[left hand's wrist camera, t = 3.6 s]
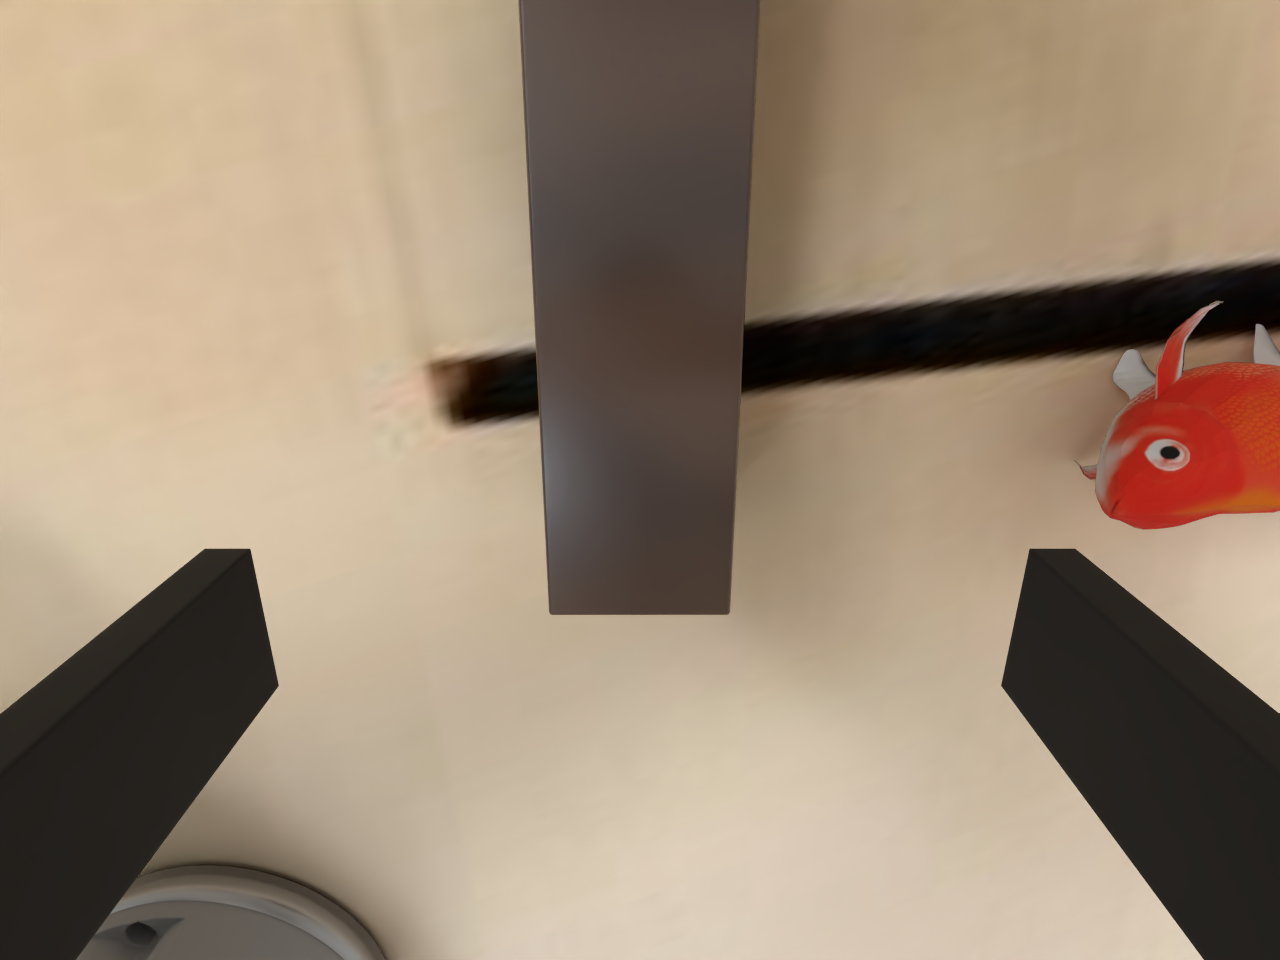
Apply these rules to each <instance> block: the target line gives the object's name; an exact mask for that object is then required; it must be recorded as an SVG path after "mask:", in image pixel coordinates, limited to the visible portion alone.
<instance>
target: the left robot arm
mask: <svg viewBox="0 0 1280 960" xmlns="http://www.w3.org/2000/svg"><path fill="white" fill-rule="evenodd" d="M278 686H279V685H278V680H277V675H276V670H275V666H274V661H273V656H272V651H271V646H270V641H269V637H268V632H267V627H266V622H265V617H264V613H263V608H262V603H261V598H260V593H259V588H258V584H257V579H256V574H255V569H254V564H253V559H252V555H251V550H250V549H204V550H203V551H202V552H200V553H199V554H198V555H197V556H195V557H194V558H193V559H192V560H190V561H189V562H188V563H187V564H185V565H184V566H183V567H182V568H181V569H179V570H178V571H177V572H176V573H174V574H173V575H172V576H171V577H169V578H168V579H167V580H166V581H164V582H163V583H162V584H161V585H160V586H158V587H157V588H156V589H155V590H153V591H152V592H151V593H150V594H148V595H147V596H146V597H145V598H143V599H142V600H141V601H140V602H138V603H137V604H136V605H135V606H134V607H132V608H131V609H130V610H129V611H127V612H126V613H125V614H124V615H122V616H121V617H120V618H119V619H117V620H116V621H115V622H114V623H112V624H111V625H110V626H109V627H108V628H106V629H105V630H104V631H103V632H101V633H100V634H99V635H98V636H96V637H95V638H94V639H93V640H91V641H90V642H89V643H88V644H86V645H85V646H84V647H83V648H82V649H80V650H79V651H78V652H77V653H75V654H74V655H73V656H72V657H70V658H69V659H68V660H67V661H65V662H64V663H63V664H62V665H61V666H59V667H58V668H57V669H56V670H54V671H53V672H52V673H51V674H49V675H48V676H47V677H46V678H44V679H43V680H42V681H41V682H39V683H38V684H37V685H36V686H35V687H33V688H32V689H31V690H30V691H28V692H27V693H26V694H25V695H23V696H22V697H21V698H20V699H18V700H17V701H16V702H15V703H13V704H12V705H11V706H10V707H9V708H7V709H6V710H5V711H4V712H2V713H1V714H0V960H385V958H384V956H383V954H382V952H381V950H380V949H379V947H378V946H377V944H376V942H375V941H374V940H373V939H372V937H371V936H370V935H369V933H368V932H367V931H366V930H365V929H364V928H363V927H362V926H361V925H360V924H359V923H358V922H357V921H356V920H355V919H354V918H353V917H352V916H350V915H349V914H348V913H347V912H346V911H344V910H343V909H342V908H340V907H339V906H337V905H336V904H335V903H333V902H332V901H330V900H328V899H327V898H325V897H323V896H322V895H320V894H318V893H316V892H314V891H312V890H310V889H308V888H306V887H304V886H302V885H299V884H297V883H295V882H292V881H289V880H287V879H284V878H281V877H278V876H275V875H271V874H267V873H264V872H260V871H255V870H250V869H245V868H238V867H230V866H216V865H195V866H183V867H176V868H170V869H164V870H160V871H156V872H152V873H149V874H146V875H143V876H141V877H138V875H139V874H140V873H141V871H142V870H143V868H144V867H145V866H146V864H147V863H148V862H149V860H150V859H151V858H152V856H153V855H154V854H155V852H156V851H157V850H158V848H159V847H160V845H161V844H162V843H163V841H164V840H165V839H166V837H167V836H168V835H169V833H170V832H171V831H172V829H173V828H174V827H175V825H176V824H177V823H178V821H179V820H180V818H181V817H182V816H183V814H184V813H185V812H186V810H187V809H188V808H189V806H190V805H191V804H192V802H193V801H194V800H195V798H196V797H197V795H198V794H199V793H200V791H201V790H202V789H203V787H204V786H205V785H206V783H207V782H208V781H209V779H210V778H211V777H212V775H213V774H214V772H215V771H216V770H217V768H218V767H219V766H220V764H221V763H222V762H223V760H224V759H225V758H226V756H227V755H228V754H229V752H230V751H231V749H232V748H233V747H234V745H235V744H236V743H237V741H238V740H239V739H240V737H241V736H242V735H243V733H244V732H245V731H246V729H247V728H248V727H249V725H250V724H251V722H252V721H253V720H254V718H255V717H256V716H257V714H258V713H259V712H260V710H261V709H262V708H263V706H264V705H265V704H266V702H267V701H268V699H269V698H270V697H271V695H272V694H273V693H274V691H275V690H276V689H277V687H278ZM1001 686H1002V687H1003V689H1004V690H1005V691H1006V693H1007V694H1008V695H1009V697H1010V698H1011V699H1012V701H1013V702H1014V704H1015V705H1016V706H1017V708H1018V709H1019V710H1020V712H1021V713H1022V714H1023V716H1024V717H1025V718H1026V720H1027V721H1028V722H1029V724H1030V725H1031V727H1032V728H1033V729H1034V731H1035V732H1036V733H1037V735H1038V736H1039V737H1040V739H1041V740H1042V741H1043V743H1044V744H1045V745H1046V747H1047V748H1048V749H1049V751H1050V752H1051V754H1052V755H1053V756H1054V758H1055V759H1056V760H1057V762H1058V763H1059V764H1060V766H1061V767H1062V768H1063V770H1064V771H1065V772H1066V774H1067V775H1068V777H1069V778H1070V779H1071V781H1072V782H1073V783H1074V785H1075V786H1076V787H1077V789H1078V790H1079V791H1080V793H1081V794H1082V795H1083V797H1084V798H1085V800H1086V801H1087V802H1088V804H1089V805H1090V806H1091V808H1092V809H1093V810H1094V812H1095V813H1096V814H1097V816H1098V817H1099V818H1100V820H1101V821H1102V823H1103V824H1104V825H1105V827H1106V828H1107V829H1108V831H1109V832H1110V833H1111V835H1112V836H1113V837H1114V839H1115V840H1116V841H1117V843H1118V844H1119V845H1120V847H1121V848H1122V850H1123V851H1124V852H1125V854H1126V855H1127V856H1128V858H1129V859H1130V860H1131V862H1132V863H1133V864H1134V866H1135V867H1136V868H1137V870H1138V871H1139V873H1140V874H1141V875H1142V877H1143V878H1144V879H1145V881H1146V882H1147V883H1148V885H1149V886H1150V887H1151V889H1152V890H1153V891H1154V893H1155V894H1156V896H1157V897H1158V898H1159V900H1160V901H1161V902H1162V904H1163V905H1164V906H1165V908H1166V909H1167V910H1168V912H1169V913H1170V914H1171V916H1172V917H1173V918H1174V920H1175V921H1176V923H1177V924H1178V925H1179V927H1180V928H1181V929H1182V931H1183V932H1184V933H1185V935H1186V936H1187V937H1188V939H1189V940H1190V941H1191V943H1192V944H1193V946H1194V947H1195V948H1196V950H1197V951H1198V952H1199V954H1200V955H1201V956H1202V958H1203V959H1204V960H1280V713H1278V712H1276V711H1275V710H1274V709H1273V708H1271V707H1270V706H1269V705H1268V704H1267V703H1265V702H1264V701H1263V700H1262V699H1260V698H1259V697H1258V696H1257V695H1255V694H1254V693H1253V692H1252V691H1250V690H1249V689H1248V688H1247V687H1245V686H1244V685H1243V684H1242V683H1241V682H1239V681H1238V680H1237V679H1236V678H1234V677H1233V676H1232V675H1231V674H1229V673H1228V672H1227V671H1226V670H1224V669H1223V668H1222V667H1221V666H1219V665H1218V664H1217V663H1216V662H1215V661H1213V660H1212V659H1211V658H1210V657H1208V656H1207V655H1206V654H1205V653H1203V652H1202V651H1201V650H1200V649H1198V648H1197V647H1196V646H1195V645H1194V644H1192V643H1191V642H1190V641H1189V640H1187V639H1186V638H1185V637H1184V636H1182V635H1181V634H1180V633H1179V632H1177V631H1176V630H1175V629H1174V628H1172V627H1171V626H1170V625H1169V624H1168V623H1166V622H1165V621H1164V620H1163V619H1161V618H1160V617H1159V616H1158V615H1156V614H1155V613H1154V612H1153V611H1151V610H1150V609H1149V608H1148V607H1146V606H1145V605H1144V604H1143V603H1142V602H1140V601H1139V600H1138V599H1137V598H1135V597H1134V596H1133V595H1132V594H1130V593H1129V592H1128V591H1127V590H1125V589H1124V588H1123V587H1122V586H1120V585H1119V584H1118V583H1117V582H1116V581H1114V580H1113V579H1112V578H1111V577H1109V576H1108V575H1107V574H1106V573H1104V572H1103V571H1102V570H1101V569H1099V568H1098V567H1097V566H1096V565H1095V564H1093V563H1092V562H1091V561H1090V560H1088V559H1087V558H1086V557H1085V556H1083V555H1082V554H1081V553H1080V552H1078V551H1077V550H1076V549H1030V550H1029V555H1028V559H1027V564H1026V569H1025V574H1024V579H1023V584H1022V588H1021V593H1020V598H1019V603H1018V608H1017V613H1016V617H1015V622H1014V627H1013V632H1012V637H1011V641H1010V646H1009V651H1008V656H1007V661H1006V666H1005V670H1004V675H1003V680H1002V685H1001ZM137 877H138V878H137Z"/></svg>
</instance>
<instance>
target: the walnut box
mask: <svg viewBox="0 0 1280 960" xmlns="http://www.w3.org/2000/svg"><path fill="white" fill-rule="evenodd" d="M759 15H760V0H519V19H520V39H521V59H522V79H523V99H524V119H525V139H526V159H527V179H528V199H529V219H530V239H531V259H532V279H533V299H534V319H535V339H536V359H537V379H538V399H539V419H540V439H541V459H542V479H543V499H544V519H545V539H546V559H547V579H548V599H549V612H550V614H552V615H727V614H729V612H730V601H731V580H732V560H733V540H734V520H735V499H736V479H737V459H738V439H739V419H740V398H741V378H742V358H743V338H744V318H745V297H746V277H747V257H748V237H749V217H750V196H751V176H752V156H753V136H754V116H755V95H756V75H757V55H758V35H759Z"/></svg>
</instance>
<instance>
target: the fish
mask: <svg viewBox="0 0 1280 960" xmlns="http://www.w3.org/2000/svg"><path fill="white" fill-rule="evenodd" d="M1223 302H1224V301H1215V302H1213V303H1212V304H1210V305H1209V306H1206V307H1203V308H1201V309H1200V310H1198V311H1197V312H1196V313H1195V314H1194V315H1193V316H1192V317H1190V318H1189V319H1188V320H1186V321H1185V322H1184V323H1183V324H1181V325H1180V326H1179V327H1178V328H1177V329H1175V331H1174V332H1173V333H1172V335H1171V336H1170V337H1169V339H1168V340H1167V342H1166V346H1165V348H1164V351H1163V353H1162V356H1161V358H1160V360H1159V362H1158V365H1157V367H1156V376H1155V375H1154V374H1153V373H1152V372H1151V371H1150V370H1149V368H1148V367H1147V366H1146V364H1145V362H1144V361H1143V359H1142V357H1141V355H1140V353H1139V352H1138V351H1137V350H1133V349H1131V350H1127V351H1126V352H1125V353H1124V354H1123V356H1122V357H1121V359H1120V361H1119V363H1118V365H1117V367H1116V369H1115V371H1114V373H1113V381H1114V382H1115V384H1116V385H1117V386H1118V387H1120V388H1121V389H1122V390H1124V391H1125V392H1126V393H1127V395H1128V396H1129V399H1130V401H1129V402H1128V403H1127V404H1126V405H1125V406H1124V407H1123V408H1122V409H1121V410H1120V411H1119V413H1118V414H1117V415H1116V417H1115V418H1114V419H1113V421H1112V423H1111V425H1110V427H1109V429H1108V431H1107V434H1106V437H1105V440H1104V443H1103V446H1102V449H1101V452H1100V456H1099V461H1098V465H1092V466H1086V467H1081V466H1080V465H1079V464H1078V463H1077V462H1076V461H1075V460H1074V461H1075V462H1076V463H1077V464H1078V466H1079V467H1080V468H1081V470H1082V472H1083V474H1084V475H1085V476H1087V477H1088V478H1089V479H1096V483H1095V492H1096V496H1097V499H1098V501H1099V503H1100V506H1101V508H1102V510H1103V511H1104V513H1105V514H1107V515H1108V516H1109V517H1110V518H1112V519H1116V520H1120V521H1123V522H1125V523H1127V524H1129V525H1130V526H1132V527H1135V528H1139V529H1159V528H1168V527H1175V526H1179V525H1183V524H1187V523H1190V522H1193V521H1196V520H1199V519H1202V518H1205V517H1209V516H1212V515H1216V514H1238V513H1267V512H1276V511H1280V352H1279V351H1278V349H1277V348H1276V346H1275V344H1274V343H1273V341H1272V340H1271V338H1270V336H1269V334H1268V333H1267V331H1266V329H1265V328H1264V326H1263V325H1260V324H1256V331H1255V341H1254V362H1255V363H1242V362H1226V363H1219V364H1213V365H1208V366H1203V367H1197V368H1193V369H1189V370H1185V371H1183V366H1184V352H1185V344H1186V342H1187V340H1188V338H1189V336H1190V334H1191V333H1192V331H1193V330H1194V329H1195V327H1196V326H1197V325H1198V323H1199V322H1200V321H1201V320H1202V318H1203V317H1204V316H1205V314H1206V313H1207V312H1208V311H1209V310H1210V309H1212V308H1213V307H1215V306H1217V305H1218V304H1222V303H1223Z"/></svg>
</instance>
